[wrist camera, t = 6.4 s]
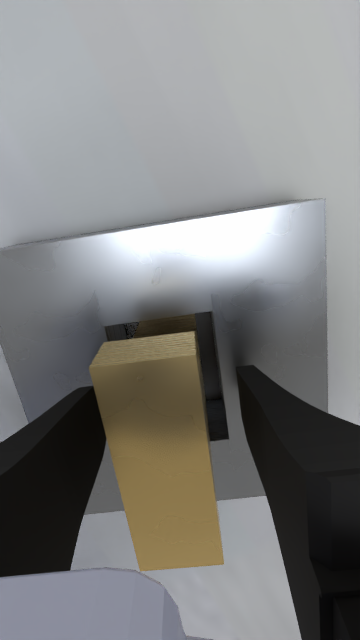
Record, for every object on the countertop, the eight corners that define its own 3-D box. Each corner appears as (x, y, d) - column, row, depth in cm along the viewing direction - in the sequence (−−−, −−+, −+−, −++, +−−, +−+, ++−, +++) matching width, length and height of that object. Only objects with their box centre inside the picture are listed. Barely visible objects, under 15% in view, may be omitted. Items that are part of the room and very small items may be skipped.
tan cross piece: (158, 418, 17) (140, 571, 10) (134, 289, 15) (88, 367, 8) (207, 413, 17) (223, 564, 10) (190, 282, 15) (195, 354, 8)
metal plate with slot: (81, 468, 18) (62, 516, 15) (11, 245, 14) (-32, 255, 11) (305, 442, 17) (328, 488, 14) (295, 200, 13) (325, 198, 11)
